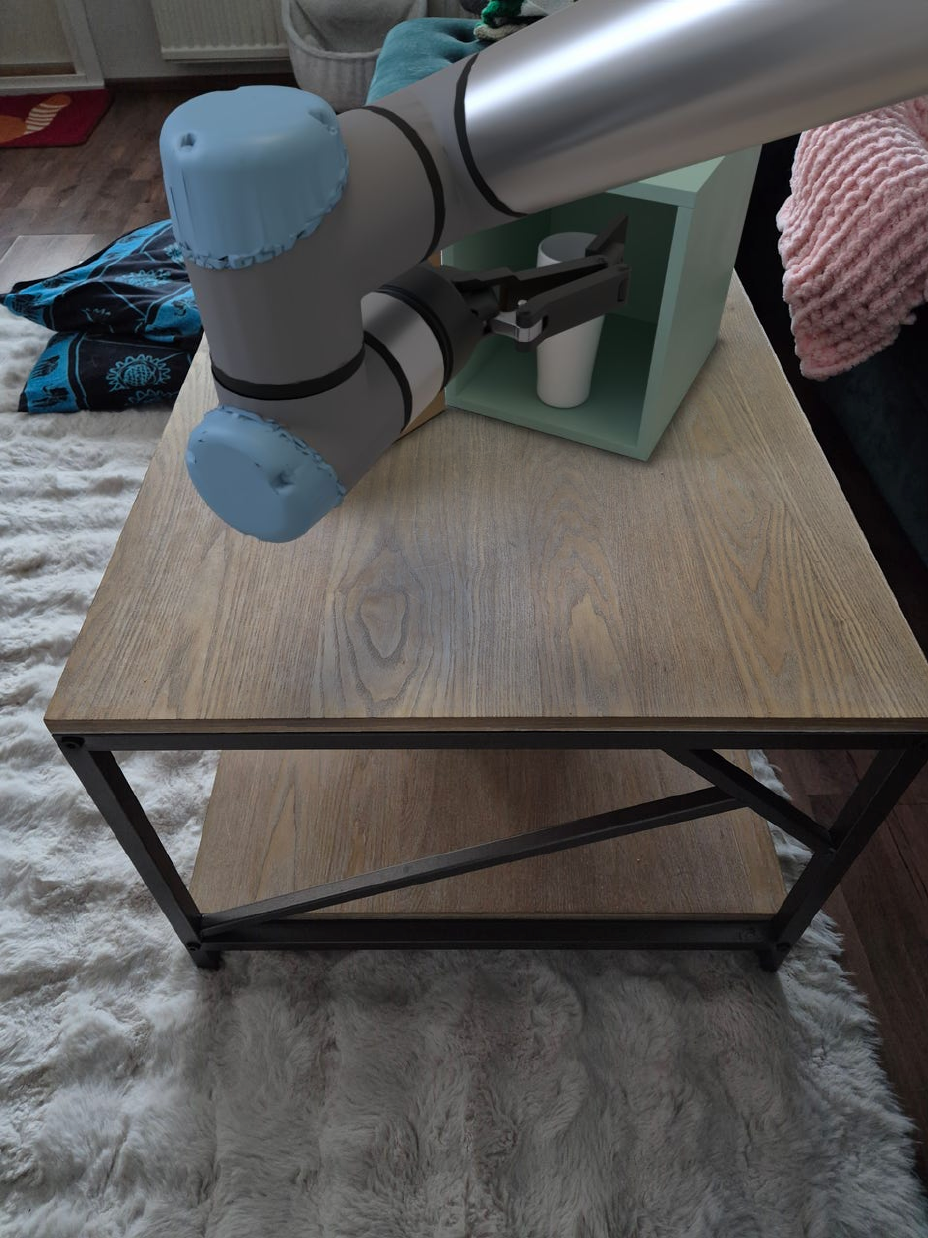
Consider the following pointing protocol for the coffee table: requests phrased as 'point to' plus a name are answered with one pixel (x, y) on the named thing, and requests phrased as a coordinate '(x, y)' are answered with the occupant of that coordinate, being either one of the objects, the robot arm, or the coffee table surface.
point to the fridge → (632, 335)
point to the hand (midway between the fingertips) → (535, 215)
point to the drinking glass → (567, 335)
